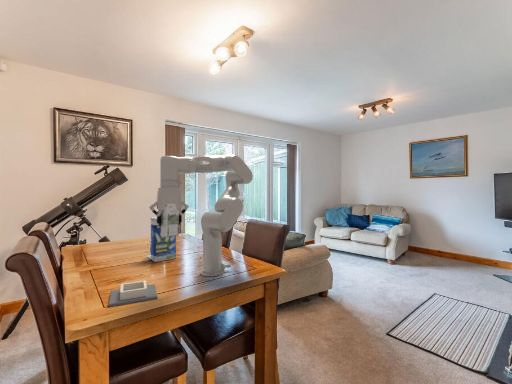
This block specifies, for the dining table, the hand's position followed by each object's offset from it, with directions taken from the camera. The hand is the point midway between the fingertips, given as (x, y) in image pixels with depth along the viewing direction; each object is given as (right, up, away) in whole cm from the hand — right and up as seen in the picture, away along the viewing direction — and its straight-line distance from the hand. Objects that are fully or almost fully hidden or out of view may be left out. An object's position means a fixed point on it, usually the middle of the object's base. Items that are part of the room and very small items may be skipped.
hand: (169, 224), depth 116 cm
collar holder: (-12, -28, -8) cm, 32 cm away
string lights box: (-18, -27, +46) cm, 56 cm away
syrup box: (0, -5, 0) cm, 5 cm away
